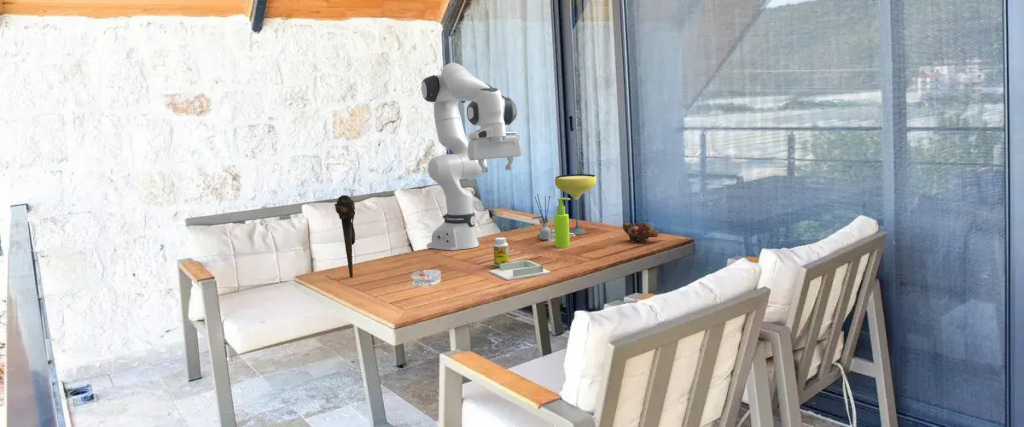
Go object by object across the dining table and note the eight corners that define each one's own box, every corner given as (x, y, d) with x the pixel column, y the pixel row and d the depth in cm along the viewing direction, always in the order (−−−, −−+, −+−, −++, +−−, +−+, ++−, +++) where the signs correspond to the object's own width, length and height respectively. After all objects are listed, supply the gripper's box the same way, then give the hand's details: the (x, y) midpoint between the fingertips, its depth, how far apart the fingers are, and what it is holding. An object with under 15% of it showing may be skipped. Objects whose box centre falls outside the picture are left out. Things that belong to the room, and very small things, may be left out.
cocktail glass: (577, 227, 368) (575, 173, 364) (606, 231, 354) (604, 175, 350) (548, 233, 356) (546, 177, 352) (577, 238, 343) (575, 180, 339)
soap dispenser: (571, 247, 323) (569, 198, 320) (554, 248, 325) (552, 199, 322) (573, 244, 329) (571, 196, 326) (556, 245, 331) (554, 197, 327)
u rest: (507, 280, 275) (506, 272, 275) (489, 272, 288) (488, 264, 288) (550, 273, 282) (550, 265, 282) (531, 265, 296) (531, 258, 295)
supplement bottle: (491, 266, 298) (490, 239, 296) (498, 263, 302) (497, 236, 301) (504, 267, 295) (503, 240, 293) (511, 264, 300) (510, 237, 298)
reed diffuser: (556, 240, 340) (554, 193, 337) (543, 243, 336) (541, 195, 333) (541, 237, 348) (539, 191, 345) (529, 239, 344) (527, 193, 341)
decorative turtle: (626, 238, 337) (626, 219, 336) (661, 239, 331) (661, 220, 329) (619, 243, 329) (618, 223, 327) (655, 244, 322) (655, 225, 321)
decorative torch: (352, 280, 287) (345, 197, 282) (337, 278, 290) (330, 196, 285) (364, 275, 293) (358, 194, 288) (349, 274, 296) (343, 193, 291)
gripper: (514, 131, 296) (518, 169, 297) (464, 135, 287) (467, 173, 287) (522, 130, 290) (526, 168, 291) (471, 133, 281) (475, 173, 282)
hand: (496, 171), depth 289 cm, fingers open, 8 cm apart
